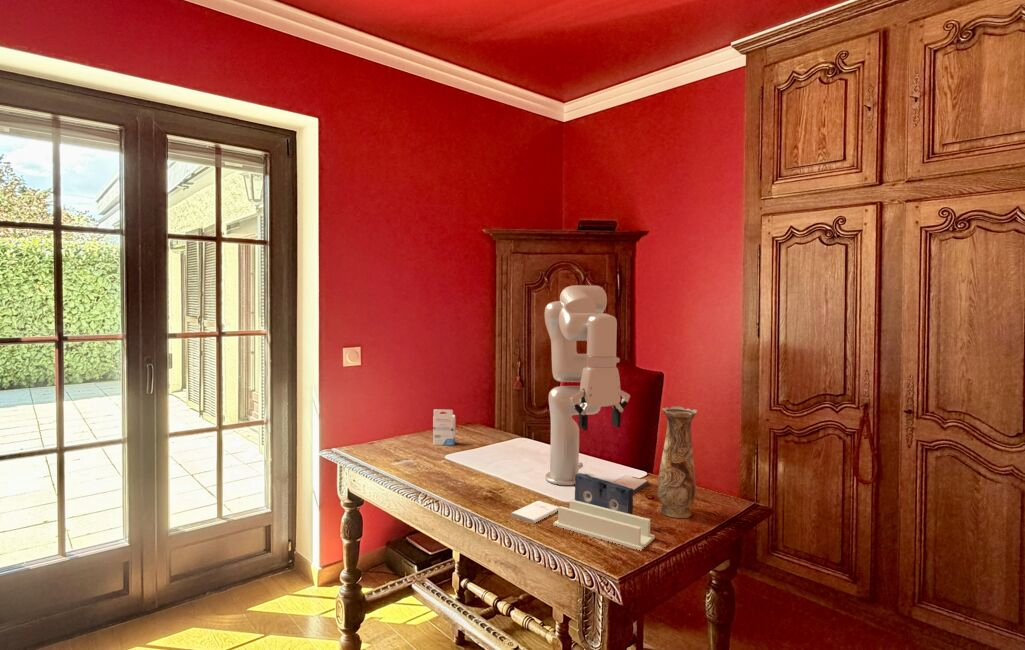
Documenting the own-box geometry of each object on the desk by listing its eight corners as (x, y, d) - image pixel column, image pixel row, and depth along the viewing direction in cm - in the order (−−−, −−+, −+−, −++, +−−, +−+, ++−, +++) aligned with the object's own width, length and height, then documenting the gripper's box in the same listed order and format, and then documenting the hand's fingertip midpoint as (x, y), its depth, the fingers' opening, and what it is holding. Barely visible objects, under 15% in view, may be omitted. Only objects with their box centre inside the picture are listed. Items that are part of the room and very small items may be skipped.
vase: (650, 512, 163) (653, 409, 161) (668, 502, 170) (671, 404, 169) (684, 522, 156) (687, 415, 154) (701, 511, 163) (704, 409, 162)
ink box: (455, 442, 235) (455, 407, 234) (453, 445, 230) (453, 410, 229) (435, 441, 236) (435, 406, 235) (432, 444, 231) (432, 409, 230)
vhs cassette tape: (633, 524, 154) (633, 488, 154) (626, 527, 152) (627, 491, 152) (580, 505, 167) (580, 472, 167) (573, 508, 165) (574, 474, 165)
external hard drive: (510, 517, 159) (537, 505, 168) (534, 525, 153) (560, 512, 163) (510, 512, 159) (537, 499, 168) (534, 520, 153) (560, 506, 163)
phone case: (628, 499, 174) (649, 484, 187) (628, 494, 174) (650, 480, 187) (602, 493, 180) (625, 479, 192) (602, 488, 180) (625, 474, 192)
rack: (569, 515, 160) (570, 497, 159) (654, 538, 145) (655, 519, 145) (553, 525, 152) (553, 507, 152) (641, 551, 138) (641, 531, 138)
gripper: (622, 360, 153) (620, 422, 154) (564, 362, 147) (563, 427, 148) (637, 363, 146) (636, 428, 147) (578, 365, 140) (577, 433, 141)
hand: (599, 427), depth 147 cm, fingers open, 9 cm apart
